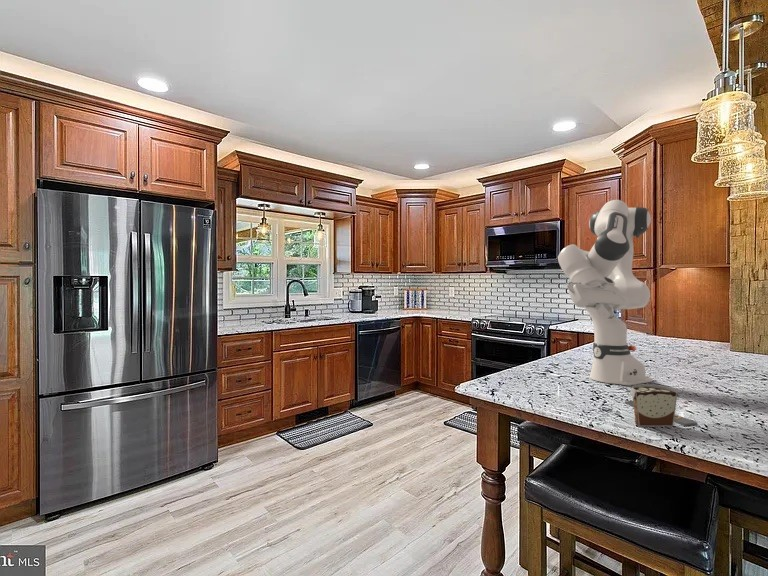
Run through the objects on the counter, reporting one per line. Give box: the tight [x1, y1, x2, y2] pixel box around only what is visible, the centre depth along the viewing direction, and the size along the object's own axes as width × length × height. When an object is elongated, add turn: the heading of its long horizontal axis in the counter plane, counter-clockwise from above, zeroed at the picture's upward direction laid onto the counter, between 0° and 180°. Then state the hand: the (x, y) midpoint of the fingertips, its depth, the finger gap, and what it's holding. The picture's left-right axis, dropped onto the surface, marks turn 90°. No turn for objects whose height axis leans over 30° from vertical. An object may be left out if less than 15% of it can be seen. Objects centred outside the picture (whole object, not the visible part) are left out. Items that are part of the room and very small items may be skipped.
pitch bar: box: [624, 400, 698, 427], centre depth 119 cm, size 4×20×4 cm, turn 13°
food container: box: [629, 383, 680, 427], centre depth 112 cm, size 12×6×10 cm, turn 90°
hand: (611, 317), depth 125 cm, fingers closed
